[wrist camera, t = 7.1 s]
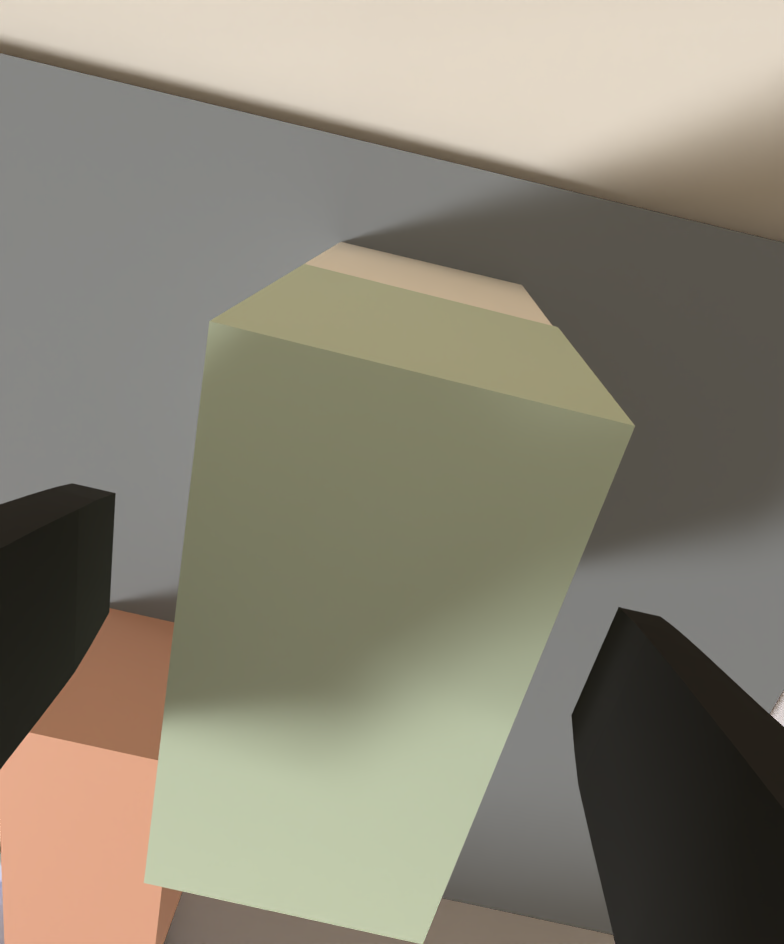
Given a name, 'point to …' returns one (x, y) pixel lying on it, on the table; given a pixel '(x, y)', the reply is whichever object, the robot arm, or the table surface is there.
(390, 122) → the table surface
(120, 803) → the terracotta brick
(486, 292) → the cream brick
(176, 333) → the mat
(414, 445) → the green brick
